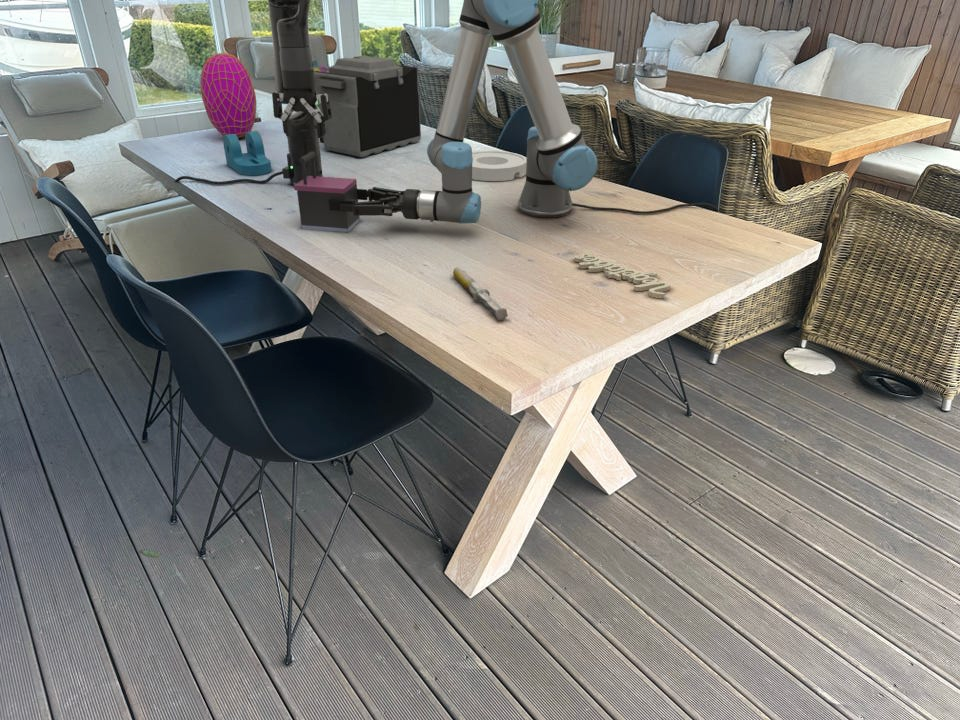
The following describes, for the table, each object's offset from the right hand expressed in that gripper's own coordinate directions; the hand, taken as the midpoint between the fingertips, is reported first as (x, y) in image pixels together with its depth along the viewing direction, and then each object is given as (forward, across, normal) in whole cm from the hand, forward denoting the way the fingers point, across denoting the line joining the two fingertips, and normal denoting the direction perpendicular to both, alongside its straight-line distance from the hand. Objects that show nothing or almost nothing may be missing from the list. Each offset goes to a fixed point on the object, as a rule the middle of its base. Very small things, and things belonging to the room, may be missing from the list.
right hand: (336, 198), depth 179 cm
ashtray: (-30, +61, -7) cm, 68 cm away
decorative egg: (+75, +86, -7) cm, 114 cm away
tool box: (+20, +86, -7) cm, 88 cm away
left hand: (+7, 0, +15) cm, 17 cm away
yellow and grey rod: (-45, -36, -7) cm, 58 cm away
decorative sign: (-75, -18, -7) cm, 77 cm away
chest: (+2, 0, -7) cm, 8 cm away
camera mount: (+49, +46, -7) cm, 67 cm away
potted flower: (+54, +121, -7) cm, 133 cm away
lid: (+3, 0, +3) cm, 4 cm away
